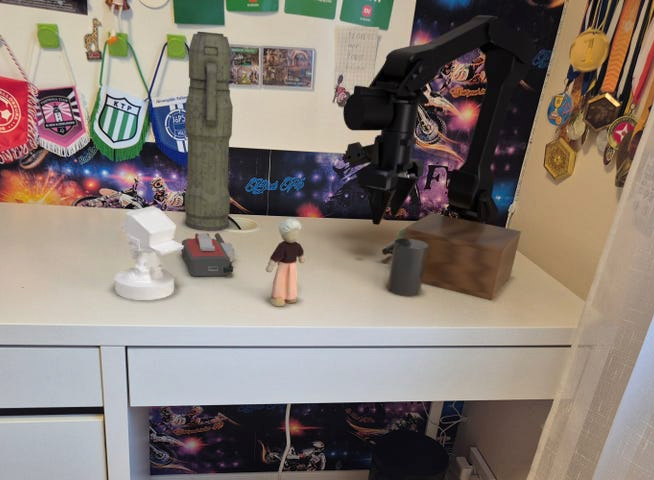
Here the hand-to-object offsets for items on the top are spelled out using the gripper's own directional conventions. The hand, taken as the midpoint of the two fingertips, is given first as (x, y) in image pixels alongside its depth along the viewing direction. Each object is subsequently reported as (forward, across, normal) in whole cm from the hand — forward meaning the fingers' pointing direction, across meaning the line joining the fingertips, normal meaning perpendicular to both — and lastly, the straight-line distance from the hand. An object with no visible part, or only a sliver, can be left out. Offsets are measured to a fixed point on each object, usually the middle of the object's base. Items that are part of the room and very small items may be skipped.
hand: (385, 219), depth 118 cm
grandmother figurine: (+7, +31, -3) cm, 32 cm away
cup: (+7, +14, +10) cm, 19 cm away
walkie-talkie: (+7, +23, -23) cm, 33 cm away
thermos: (+7, +5, -36) cm, 37 cm away
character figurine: (+7, +41, -21) cm, 47 cm away
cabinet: (+7, +1, +15) cm, 17 cm away
